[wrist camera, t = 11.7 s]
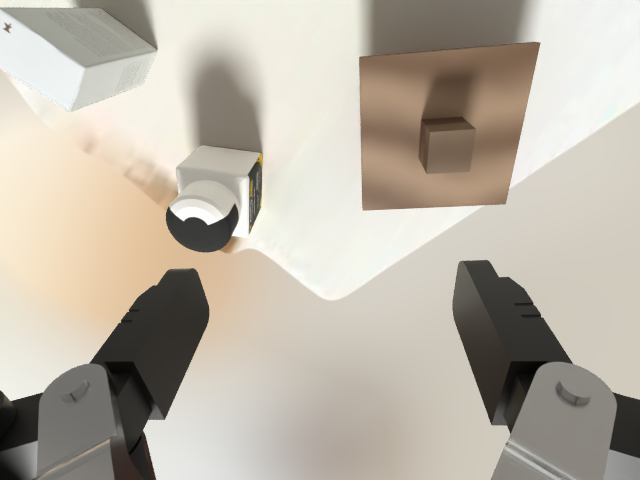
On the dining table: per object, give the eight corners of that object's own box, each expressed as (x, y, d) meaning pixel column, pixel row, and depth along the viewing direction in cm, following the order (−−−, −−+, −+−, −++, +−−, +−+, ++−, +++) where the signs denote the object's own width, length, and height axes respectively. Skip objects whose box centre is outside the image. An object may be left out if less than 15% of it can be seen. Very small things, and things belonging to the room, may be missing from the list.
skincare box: (87, 47, 35) (-16, 60, 25) (101, 6, 33) (-5, 3, 23) (144, 87, 37) (69, 115, 27) (160, 51, 35) (86, 65, 25)
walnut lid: (359, 56, 30) (361, 63, 26) (534, 41, 29) (567, 46, 24) (362, 206, 37) (364, 230, 33) (501, 199, 36) (522, 224, 32)
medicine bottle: (261, 208, 44) (236, 266, 34) (203, 200, 44) (161, 256, 34) (263, 152, 40) (235, 198, 30) (199, 143, 40) (150, 187, 30)
